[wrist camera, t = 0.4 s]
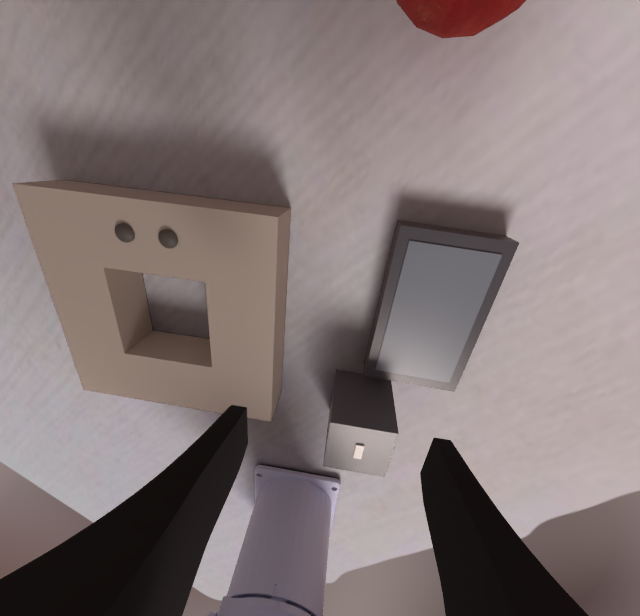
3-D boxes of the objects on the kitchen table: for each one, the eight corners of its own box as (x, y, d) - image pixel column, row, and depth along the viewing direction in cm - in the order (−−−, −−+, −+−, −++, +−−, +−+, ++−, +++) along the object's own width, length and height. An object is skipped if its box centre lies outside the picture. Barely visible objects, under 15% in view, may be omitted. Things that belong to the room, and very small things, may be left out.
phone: (446, 372, 21) (455, 392, 20) (364, 358, 22) (364, 376, 20) (502, 234, 17) (520, 243, 15) (396, 218, 17) (401, 225, 15)
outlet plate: (281, 392, 23) (270, 423, 21) (113, 364, 24) (81, 391, 22) (290, 208, 17) (277, 217, 14) (63, 179, 18) (9, 183, 15)
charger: (380, 417, 24) (384, 478, 19) (329, 408, 24) (322, 467, 19) (390, 377, 22) (398, 435, 17) (336, 369, 22) (330, 423, 17)
